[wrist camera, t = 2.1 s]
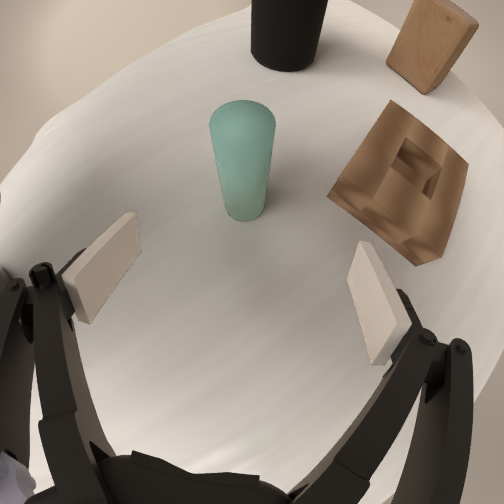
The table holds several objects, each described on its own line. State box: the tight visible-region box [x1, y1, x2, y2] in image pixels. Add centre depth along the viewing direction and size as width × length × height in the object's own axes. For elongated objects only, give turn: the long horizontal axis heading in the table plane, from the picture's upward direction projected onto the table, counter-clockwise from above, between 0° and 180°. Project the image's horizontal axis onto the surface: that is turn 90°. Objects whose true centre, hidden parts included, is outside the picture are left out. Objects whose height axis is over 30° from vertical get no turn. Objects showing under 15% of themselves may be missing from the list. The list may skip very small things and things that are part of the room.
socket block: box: [327, 100, 469, 266], centre depth 29 cm, size 14×16×6 cm
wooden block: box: [386, 0, 479, 94], centre depth 28 cm, size 10×10×20 cm
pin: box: [209, 100, 276, 222], centre depth 23 cm, size 4×4×14 cm
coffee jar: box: [251, 0, 328, 72], centre depth 28 cm, size 11×11×18 cm
